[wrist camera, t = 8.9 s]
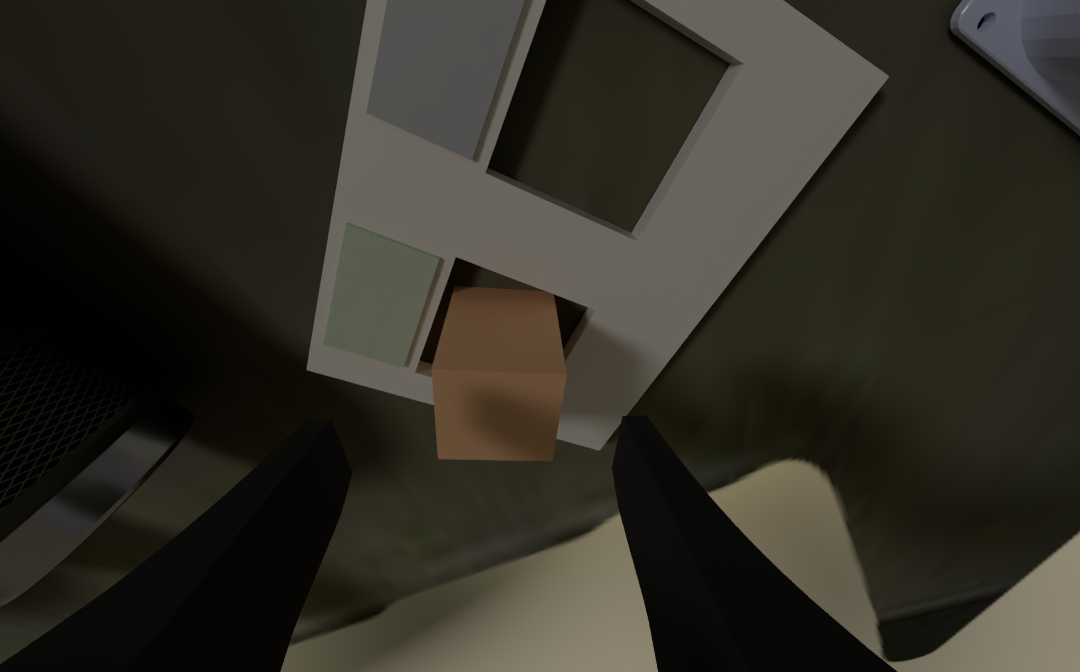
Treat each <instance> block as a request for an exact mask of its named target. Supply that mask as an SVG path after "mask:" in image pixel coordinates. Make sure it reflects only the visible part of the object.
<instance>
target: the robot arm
mask: <svg viewBox="0 0 1080 672" xmlns="http://www.w3.org/2000/svg"><path fill="white" fill-rule="evenodd" d="M983 16H984V21H983V24H982V25H981V27H980V28H979V29H977V27H978V23H979V21H980V20H981V18H982V17H983ZM950 29H951V31H952V32H953V33H954V34H955V35H956V36H957V37H959V38H960V39H961V40H962V41H964V42H965V43H966V44H967V45H968V46H970V47H971V48H972V49H973V50H975V51H976V52H977V53H978V54H980V55H981V56H982V57H983V58H984V59H986V60H987V61H988V62H989V63H991V64H992V65H993V66H994V67H996V68H997V69H998V70H999V71H1000V72H1002V73H1003V74H1004V75H1005V76H1007V77H1008V78H1009V79H1010V80H1012V81H1013V82H1014V83H1015V84H1017V85H1018V86H1019V87H1020V88H1021V89H1023V90H1024V91H1025V92H1026V93H1028V94H1029V95H1030V96H1031V97H1033V98H1034V99H1035V100H1036V101H1037V102H1039V103H1040V104H1041V105H1042V106H1044V107H1045V108H1046V109H1047V110H1049V111H1050V112H1051V113H1052V114H1053V115H1055V116H1056V117H1057V118H1058V119H1060V120H1061V121H1062V122H1063V123H1065V124H1066V125H1067V126H1068V127H1069V128H1071V129H1072V130H1073V131H1074V132H1076V133H1077V134H1078V135H1079V136H1080V0H963V1H962V2H961V3H960V4H959V6H958V7H957V8H956V10H955V12H954V13H953V15H952V18H951V21H950ZM612 470H613V477H614V484H615V490H616V496H617V502H618V508H619V512H620V515H621V519H622V523H623V526H624V530H625V534H626V538H627V541H628V545H629V548H630V552H631V556H632V559H633V563H634V567H635V570H636V574H637V577H638V580H639V584H640V588H641V592H642V596H643V599H644V603H645V607H646V612H647V616H648V620H649V625H650V630H651V636H652V641H653V647H654V652H655V657H656V662H657V668H658V672H897V671H896V670H895V669H893V668H892V667H891V666H890V665H888V664H887V663H886V662H885V661H883V660H882V659H881V658H880V657H878V656H877V655H876V654H875V653H873V652H872V651H871V650H870V649H868V648H867V647H866V646H865V645H864V644H862V643H861V642H860V641H859V640H858V639H857V638H856V637H854V636H853V635H852V634H851V633H850V632H848V631H847V630H846V629H845V628H844V627H843V626H842V625H840V624H839V623H838V622H837V621H836V620H834V619H833V618H832V617H831V616H830V615H829V614H828V613H827V612H825V611H824V610H823V609H822V608H821V607H820V606H818V605H817V604H816V603H815V602H814V601H813V600H811V599H810V598H809V597H808V596H807V595H806V594H805V593H804V592H803V591H802V590H801V589H799V588H798V587H797V586H796V585H795V584H794V583H793V582H792V581H791V580H790V579H789V578H788V577H787V576H786V575H784V574H783V573H782V572H781V571H780V570H779V569H778V568H777V567H776V566H775V565H774V564H773V563H772V562H771V561H770V560H769V559H768V558H767V557H766V556H765V555H764V554H763V553H762V552H761V551H760V550H759V549H758V548H757V547H756V546H755V545H754V544H753V543H752V542H751V541H750V540H749V539H748V538H747V537H746V536H745V535H744V534H743V533H742V532H741V530H740V529H739V528H738V527H737V526H736V525H735V524H734V523H733V522H732V521H731V520H730V518H729V517H728V516H727V515H726V514H725V513H724V512H723V511H722V510H721V509H720V507H719V506H718V505H717V504H716V503H715V502H714V501H713V499H712V498H711V497H710V496H709V495H708V494H707V492H706V491H705V490H704V489H703V487H702V486H701V485H700V484H699V483H698V481H697V480H696V479H695V478H694V477H693V475H692V474H691V473H690V472H689V471H688V469H687V468H686V467H685V466H684V464H683V463H682V462H681V460H680V459H679V458H678V457H677V455H676V454H675V453H674V451H673V450H672V449H671V448H670V446H669V445H668V444H667V442H666V441H665V440H664V438H663V437H662V436H661V434H660V433H659V431H658V430H657V429H656V427H655V426H654V425H653V423H652V422H651V421H650V419H649V418H648V417H647V416H622V420H621V426H620V431H619V436H618V441H617V446H616V451H615V456H614V461H613V466H612ZM351 476H352V472H351V470H350V467H349V464H348V462H347V459H346V456H345V454H344V451H343V448H342V446H341V443H340V441H339V438H338V435H337V433H336V430H335V427H334V425H333V422H332V420H322V421H306V422H304V423H303V424H302V425H301V426H300V427H299V428H298V429H297V430H295V431H294V432H293V433H292V434H291V435H290V436H289V437H288V438H287V439H286V440H285V441H284V442H282V443H281V444H280V445H279V446H278V447H277V448H276V449H275V450H274V451H273V452H272V453H271V454H270V455H268V456H267V457H266V458H265V459H264V460H263V461H262V462H261V463H260V464H259V465H258V466H257V467H255V468H254V469H253V470H252V471H251V472H250V473H249V474H248V475H247V476H246V477H244V478H243V479H242V480H241V481H240V482H239V483H238V484H237V485H236V486H234V487H233V488H232V489H231V490H230V491H229V492H228V493H227V494H226V495H224V496H223V497H222V498H221V499H220V500H219V501H218V502H216V503H215V504H214V505H213V506H212V507H210V508H209V509H208V510H207V511H206V512H204V513H203V514H202V515H201V516H200V517H199V518H197V519H196V520H195V521H194V522H193V523H191V524H190V525H189V526H188V527H187V528H186V529H184V530H183V531H182V532H181V533H180V534H178V535H177V536H176V537H175V538H174V539H173V540H171V541H170V542H169V543H168V544H166V545H165V546H164V547H163V548H161V549H160V550H159V551H158V552H156V553H155V554H154V555H152V556H151V557H150V558H149V559H147V560H146V561H145V562H144V563H142V564H141V565H140V566H138V567H137V568H136V569H134V570H133V571H132V572H130V573H129V574H128V575H126V576H125V577H124V578H122V579H121V580H120V581H118V582H117V583H116V584H114V585H113V586H112V587H110V588H109V589H108V590H106V591H105V592H104V593H102V594H101V595H100V596H98V597H97V598H95V599H94V600H93V601H91V602H90V603H89V604H87V605H86V606H84V607H83V608H81V609H80V610H78V611H77V612H76V613H74V614H73V615H71V616H70V617H68V618H67V619H65V620H64V621H63V622H61V623H60V624H58V625H57V626H55V627H54V628H52V629H51V630H50V631H48V632H47V633H45V634H44V635H42V636H41V637H39V638H38V639H37V640H35V641H34V642H32V643H31V644H29V645H28V646H26V647H25V648H24V649H22V650H21V651H19V652H18V653H16V654H15V655H13V656H12V657H10V658H9V659H7V660H6V661H4V662H3V663H1V664H0V672H280V671H281V668H282V665H283V662H284V658H285V655H286V652H287V649H288V646H289V643H290V640H291V636H292V634H293V631H294V628H295V626H296V623H297V620H298V618H299V615H300V612H301V610H302V608H303V605H304V603H305V600H306V598H307V596H308V593H309V591H310V588H311V586H312V583H313V581H314V579H315V576H316V574H317V571H318V569H319V567H320V564H321V562H322V559H323V557H324V555H325V552H326V550H327V547H328V545H329V542H330V540H331V538H332V535H333V533H334V530H335V528H336V525H337V523H338V520H339V518H340V515H341V512H342V508H343V505H344V502H345V498H346V495H347V491H348V487H349V483H350V479H351Z"/></svg>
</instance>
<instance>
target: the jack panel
mask: <svg viewBox="0 0 1080 672" xmlns="http://www.w3.org/2000/svg"><path fill="white" fill-rule="evenodd" d="M630 1H632V2H633V3H635V4H636V5H638V6H640V7H641V8H643V9H644V10H646V11H647V12H649V13H651V14H652V15H654V16H655V17H657V18H659V19H660V20H662V21H663V22H665V23H666V24H668V25H670V26H671V27H673V28H674V29H676V30H677V31H679V32H681V33H682V34H684V35H685V36H687V37H689V38H690V39H692V40H693V41H695V42H696V43H698V44H700V45H701V46H703V47H704V48H706V49H708V50H709V51H711V52H712V53H714V54H715V55H717V56H719V57H720V58H722V59H723V60H725V61H727V62H728V63H730V65H729V67H728V69H727V71H726V72H725V74H724V76H723V77H722V79H721V81H720V83H719V84H718V86H717V88H716V89H715V91H714V93H713V95H712V96H711V98H710V100H709V101H708V103H707V105H706V106H705V108H704V110H703V112H702V113H701V115H700V117H699V118H698V120H697V122H696V124H695V125H694V127H693V129H692V130H691V132H690V134H689V136H688V137H687V139H686V141H685V142H684V144H683V146H682V148H681V149H680V151H679V153H678V154H677V156H676V158H675V159H674V161H673V163H672V165H671V166H670V168H669V170H668V171H667V173H666V175H665V177H664V178H663V180H662V182H661V183H660V185H659V187H658V189H657V190H656V192H655V194H654V195H653V197H652V199H651V201H650V202H649V204H648V206H647V207H646V209H645V211H644V212H643V214H642V216H641V218H640V219H639V221H638V223H637V224H636V226H635V228H634V230H633V231H632V233H631V232H629V231H627V230H625V229H622V228H620V227H618V226H616V225H614V224H611V223H609V222H607V221H605V220H602V219H600V218H598V217H596V216H594V215H591V214H589V213H587V212H585V211H583V210H580V209H578V208H576V207H574V206H571V205H569V204H567V203H565V202H563V201H560V200H558V199H556V198H554V197H552V196H549V195H547V194H545V193H543V192H540V191H538V190H536V189H534V188H532V187H529V186H527V185H525V184H523V183H521V182H518V181H516V180H514V179H512V178H509V177H507V176H505V175H503V174H501V173H498V172H496V171H494V170H492V169H490V168H487V167H488V164H489V161H490V158H491V156H492V153H493V150H494V147H495V144H496V141H497V139H498V136H499V133H500V130H501V127H502V124H503V122H504V119H505V116H506V113H507V110H508V107H509V105H510V102H511V99H512V96H513V93H514V90H515V88H516V85H517V82H518V79H519V76H520V73H521V70H522V68H523V65H524V62H525V59H526V56H527V53H528V51H529V48H530V45H531V42H532V39H533V36H534V34H535V31H536V28H537V25H538V22H539V19H540V17H541V14H542V11H543V8H544V5H545V2H546V0H367V5H366V11H365V17H364V23H363V29H362V35H361V41H360V47H359V53H358V59H357V66H356V72H355V78H354V84H353V90H352V96H351V102H350V108H349V114H348V120H347V126H346V132H345V138H344V145H343V151H342V157H341V163H340V169H339V175H338V181H337V187H336V193H335V199H334V205H333V211H332V218H331V224H330V230H329V236H328V242H327V248H326V254H325V260H324V266H323V272H322V278H321V284H320V291H319V297H318V303H317V309H316V315H315V321H314V327H313V333H312V339H311V345H310V351H309V357H308V364H307V370H308V371H312V372H315V373H319V374H323V375H326V376H330V377H334V378H337V379H341V380H344V381H348V382H352V383H355V384H359V385H363V386H366V387H370V388H374V389H377V390H381V391H385V392H388V393H392V394H395V395H399V396H403V397H406V398H410V399H414V400H417V401H421V402H425V403H428V404H432V405H434V397H433V384H432V371H431V369H432V365H433V364H431V363H427V362H424V361H421V360H420V357H421V354H422V351H423V349H424V346H425V343H426V340H427V337H428V334H429V332H430V329H431V326H432V323H433V320H434V317H435V315H436V312H437V309H438V306H439V303H440V300H441V297H442V295H443V292H444V289H445V286H446V283H447V280H448V278H449V275H450V272H451V269H452V266H453V263H454V261H455V258H456V257H457V258H460V259H463V260H465V261H468V262H470V263H473V264H476V265H478V266H481V267H484V268H486V269H489V270H492V271H494V272H497V273H499V274H502V275H505V276H507V277H510V278H513V279H515V280H518V281H520V282H523V283H526V284H528V285H531V286H534V287H536V288H539V289H541V290H544V291H547V292H549V293H552V294H555V295H557V296H560V297H563V298H565V299H568V300H570V301H573V302H576V303H578V304H581V305H584V306H586V307H588V308H587V310H586V312H585V313H584V315H583V317H582V318H581V320H580V322H579V324H578V325H577V327H576V329H575V330H574V332H573V334H572V336H571V337H570V339H569V341H568V342H567V344H566V346H565V348H564V349H563V354H564V360H565V366H566V372H567V377H566V383H565V389H564V395H563V401H562V407H561V413H560V419H559V425H558V431H557V437H556V439H560V440H563V441H567V442H570V443H574V444H578V445H581V446H585V447H589V448H592V449H596V450H600V449H601V448H602V447H603V445H604V444H605V443H606V441H607V440H608V439H609V438H610V436H611V435H612V434H613V432H614V431H615V430H616V429H617V427H618V426H619V425H620V423H621V420H622V416H627V414H628V413H629V412H630V411H631V409H632V408H633V407H634V405H635V404H636V403H637V401H638V400H639V399H640V398H641V396H642V395H643V394H644V392H645V391H646V390H647V389H648V387H649V386H650V385H651V383H652V382H653V381H654V380H655V378H656V377H657V376H658V374H659V373H660V372H661V370H662V369H663V368H664V367H665V365H666V364H667V363H668V361H669V360H670V359H671V358H672V356H673V355H674V354H675V352H676V351H677V350H678V349H679V347H680V346H681V345H682V343H683V342H684V341H685V339H686V338H687V337H688V336H689V334H690V333H691V332H692V330H693V329H694V328H695V327H696V325H697V324H698V323H699V321H700V320H701V319H702V318H703V316H704V315H705V314H706V312H707V311H708V310H709V309H710V307H711V306H712V305H713V303H714V302H715V301H716V299H717V298H718V297H719V296H720V294H721V293H722V292H723V290H724V289H725V288H726V287H727V285H728V284H729V283H730V281H731V280H732V279H733V278H734V276H735V275H736V274H737V272H738V271H739V270H740V268H741V267H742V266H743V265H744V263H745V262H746V261H747V259H748V258H749V257H750V256H751V254H752V253H753V252H754V250H755V249H756V248H757V247H758V245H759V244H760V243H761V241H762V240H763V239H764V238H765V236H766V235H767V234H768V232H769V231H770V230H771V228H772V227H773V226H774V225H775V223H776V222H777V221H778V219H779V218H780V217H781V216H782V214H783V213H784V212H785V210H786V209H787V208H788V207H789V205H790V204H791V203H792V201H793V200H794V199H795V197H796V196H797V195H798V194H799V192H800V191H801V190H802V188H803V187H804V186H805V185H806V183H807V182H808V181H809V179H810V178H811V177H812V176H813V174H814V173H815V172H816V170H817V169H818V168H819V167H820V165H821V164H822V163H823V161H824V160H825V159H826V157H827V156H828V155H829V154H830V152H831V151H832V150H833V148H834V147H835V146H836V145H837V143H838V142H839V141H840V139H841V138H842V137H843V136H844V134H845V133H846V132H847V130H848V129H849V128H850V126H851V125H852V124H853V123H854V121H855V120H856V119H857V117H858V116H859V115H860V114H861V112H862V111H863V110H864V108H865V107H866V106H867V105H868V103H869V102H870V101H871V99H872V98H873V97H874V96H875V94H876V93H877V92H878V90H879V89H880V88H881V86H882V85H883V84H884V83H885V81H886V80H887V79H888V77H889V76H888V75H886V74H885V73H884V72H882V71H881V70H879V69H878V68H877V67H875V66H874V65H872V64H871V63H870V62H868V61H867V60H865V59H864V58H863V57H861V56H860V55H859V54H857V53H856V52H854V51H853V50H852V49H850V48H849V47H847V46H846V45H845V44H843V43H842V42H840V41H839V40H838V39H836V38H835V37H833V36H832V35H831V34H829V33H828V32H827V31H825V30H824V29H822V28H821V27H820V26H818V25H817V24H815V23H814V22H813V21H811V20H810V19H808V18H807V17H806V16H804V15H803V14H801V13H800V12H799V11H797V10H796V9H794V8H793V7H792V6H790V5H789V4H788V3H786V2H785V1H783V0H630Z"/></svg>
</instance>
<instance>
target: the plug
mask: <svg viewBox="0 0 1080 672" xmlns="http://www.w3.org/2000/svg"><path fill="white" fill-rule="evenodd" d="M431 371H432V384H433V397H434V410H435V423H436V436H437V449H438V459H464V460H515V461H553V455H554V449H555V443H556V437H557V431H558V425H559V419H560V413H561V407H562V401H563V395H564V389H565V383H566V377H567V372H566V366H565V360H564V354H563V347H562V341H561V335H560V329H559V323H558V317H557V311H556V305H555V299H554V294H552V293H549V292H546V291H530V290H513V289H496V288H480V287H463V286H454V290H453V294H452V297H451V301H450V304H449V308H448V311H447V315H446V319H445V322H444V326H443V329H442V333H441V336H440V340H439V344H438V347H437V351H436V354H435V358H434V361H433V365H432V369H431Z"/></svg>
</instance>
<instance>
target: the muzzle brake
mask: <svg viewBox="0 0 1080 672" xmlns="http://www.w3.org/2000/svg"><path fill="white" fill-rule="evenodd" d="M70 317H71V316H70V315H69V314H68V313H66V312H65V311H63V310H61V309H60V308H58V307H57V306H55V305H54V304H52V303H50V302H49V301H47V300H46V299H44V298H42V297H41V296H39V295H38V294H36V293H34V292H33V291H31V290H30V289H28V288H27V287H25V286H23V285H22V284H20V283H19V282H17V281H15V280H14V279H12V278H11V277H9V276H7V275H6V274H4V273H3V272H1V271H0V607H1V606H3V605H5V604H7V603H9V602H11V601H12V600H14V599H15V598H17V597H18V596H20V595H21V594H22V593H24V592H25V591H27V590H28V589H29V588H30V587H32V586H33V585H34V584H35V583H37V582H38V581H39V580H41V579H42V578H43V577H44V576H45V575H47V574H48V573H49V572H50V571H51V570H52V569H54V568H55V567H56V566H57V565H58V564H59V563H61V562H62V561H63V560H64V559H65V558H66V557H67V556H68V555H70V554H71V553H72V552H73V551H74V550H75V549H76V548H77V547H78V546H80V545H81V544H82V543H83V542H84V541H85V540H86V539H87V538H88V537H89V536H90V535H91V534H92V533H94V532H95V531H96V530H97V529H98V528H99V527H100V526H101V525H102V524H103V523H104V522H105V521H106V520H107V519H108V518H109V517H110V516H111V515H112V514H113V513H114V512H115V511H116V510H117V509H118V508H119V507H120V506H121V505H122V504H124V503H125V502H126V501H127V500H128V499H129V498H130V497H131V495H132V494H133V493H134V492H135V491H136V490H137V489H138V488H139V487H140V486H141V485H142V484H143V483H144V482H145V481H146V480H147V479H148V478H149V477H150V476H151V475H152V474H153V472H154V471H155V470H156V469H157V468H158V467H159V466H160V465H161V464H162V463H163V462H164V460H165V459H166V458H167V457H168V456H169V455H170V454H171V452H172V451H173V450H174V449H175V448H176V447H177V445H178V444H179V443H180V442H181V440H182V439H183V438H184V436H185V435H186V434H187V432H188V431H189V429H190V428H191V426H192V424H193V422H194V419H195V416H194V414H193V413H192V412H190V411H189V410H187V409H185V408H184V407H182V406H180V405H179V404H177V403H175V402H174V401H172V400H170V399H169V398H167V397H165V396H164V394H165V393H166V391H167V390H168V389H169V385H168V383H167V381H166V380H165V378H164V376H163V375H162V373H161V372H159V371H158V370H156V369H154V368H153V367H151V366H150V365H148V364H146V363H145V362H143V361H142V360H140V359H138V358H137V357H135V356H134V355H132V354H131V353H129V352H127V351H126V350H124V349H123V348H121V347H119V346H118V345H116V344H115V343H113V342H111V341H110V340H108V339H107V338H105V337H104V336H102V335H100V334H99V333H97V332H96V331H94V330H92V329H91V328H89V327H88V326H86V325H84V324H83V323H81V322H79V321H77V320H73V319H69V318H70Z"/></svg>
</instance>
